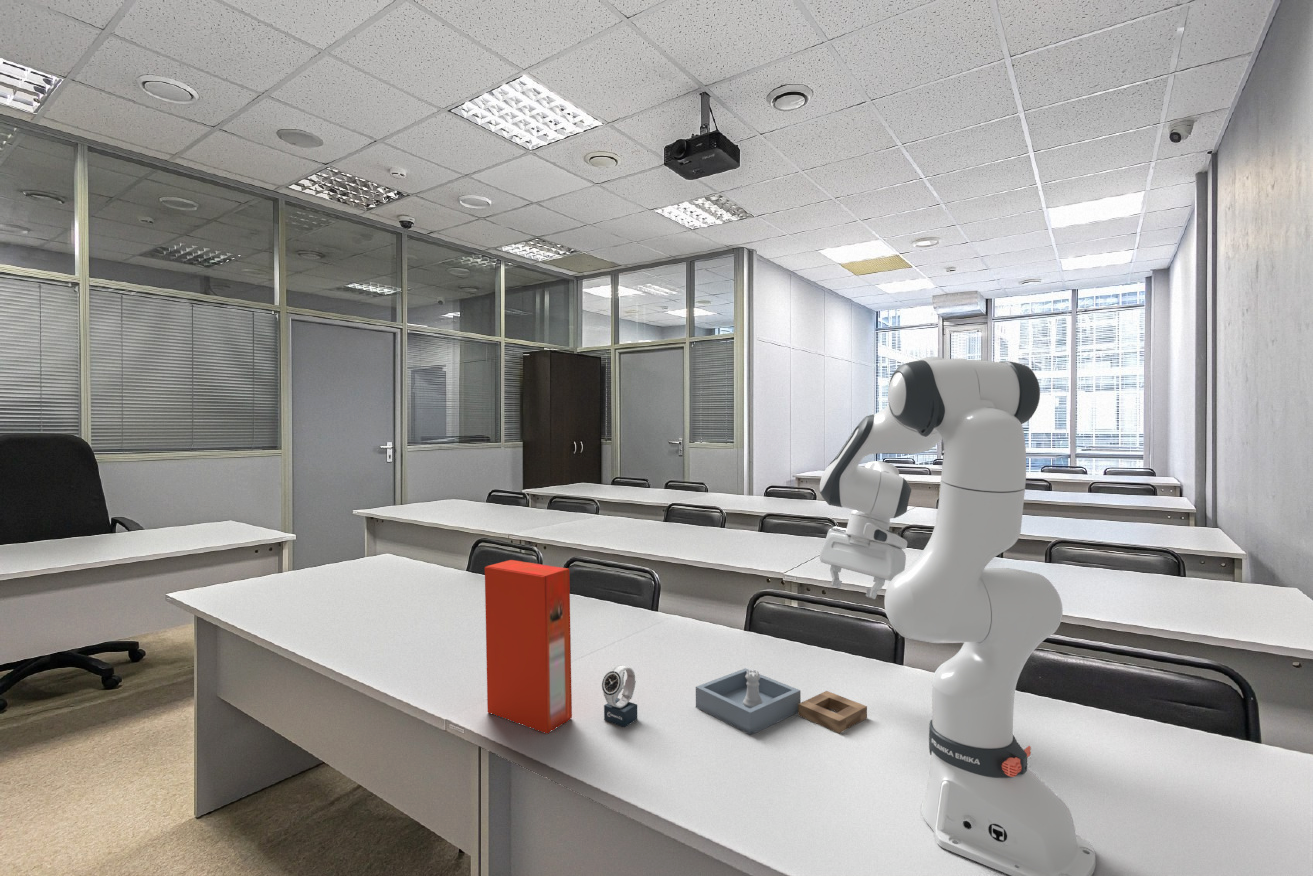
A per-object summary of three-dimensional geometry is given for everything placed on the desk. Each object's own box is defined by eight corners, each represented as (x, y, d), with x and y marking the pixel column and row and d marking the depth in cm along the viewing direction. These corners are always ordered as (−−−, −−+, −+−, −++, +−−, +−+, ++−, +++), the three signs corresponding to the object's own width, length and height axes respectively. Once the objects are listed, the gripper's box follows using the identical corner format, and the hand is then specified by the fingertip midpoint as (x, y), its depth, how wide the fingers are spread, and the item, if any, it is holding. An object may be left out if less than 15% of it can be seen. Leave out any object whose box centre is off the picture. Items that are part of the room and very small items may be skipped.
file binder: (545, 735, 121) (543, 576, 121) (486, 713, 130) (484, 566, 130) (571, 718, 128) (570, 568, 128) (514, 699, 137) (512, 559, 137)
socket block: (867, 718, 127) (867, 706, 127) (839, 733, 121) (839, 721, 121) (826, 701, 135) (826, 690, 135) (798, 715, 128) (798, 703, 128)
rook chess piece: (748, 703, 132) (748, 666, 132) (767, 708, 130) (767, 671, 129) (738, 710, 129) (738, 673, 129) (757, 716, 126) (757, 678, 126)
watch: (597, 723, 126) (597, 671, 126) (622, 709, 132) (622, 659, 132) (618, 731, 122) (618, 677, 122) (642, 716, 129) (642, 664, 129)
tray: (800, 711, 130) (800, 690, 130) (750, 735, 120) (750, 712, 120) (745, 687, 143) (745, 668, 143) (695, 707, 133) (695, 686, 133)
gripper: (821, 522, 144) (807, 579, 142) (898, 537, 127) (883, 602, 125) (838, 528, 147) (824, 583, 146) (914, 543, 131) (900, 606, 129)
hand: (852, 592), depth 135 cm, fingers open, 8 cm apart
